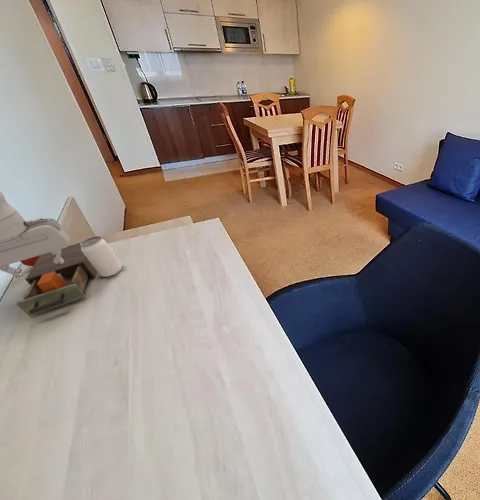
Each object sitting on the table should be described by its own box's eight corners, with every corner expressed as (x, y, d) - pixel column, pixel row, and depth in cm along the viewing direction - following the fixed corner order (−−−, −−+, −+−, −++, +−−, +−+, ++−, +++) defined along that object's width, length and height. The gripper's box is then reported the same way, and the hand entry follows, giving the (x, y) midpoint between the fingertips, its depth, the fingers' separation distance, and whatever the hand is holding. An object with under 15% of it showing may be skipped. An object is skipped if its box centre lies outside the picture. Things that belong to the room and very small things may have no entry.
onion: (34, 263, 109) (17, 245, 104) (52, 259, 110) (37, 241, 105) (25, 273, 104) (7, 254, 100) (44, 268, 106) (27, 250, 101)
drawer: (82, 305, 85) (71, 293, 83) (23, 326, 81) (10, 313, 78) (93, 271, 99) (84, 259, 97) (43, 286, 95) (33, 275, 92)
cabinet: (95, 277, 98) (82, 261, 94) (40, 295, 93) (24, 279, 89) (102, 254, 109) (91, 239, 106) (53, 269, 105) (40, 254, 101)
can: (104, 268, 102) (82, 239, 95) (125, 263, 103) (105, 233, 96) (98, 280, 97) (74, 249, 90) (120, 274, 98) (99, 243, 91)
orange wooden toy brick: (51, 299, 87) (36, 284, 84) (57, 286, 92) (43, 271, 89) (63, 295, 88) (49, 280, 85) (69, 282, 93) (56, 267, 90)
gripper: (54, 210, 83) (85, 251, 91) (-42, 235, 76) (0, 277, 84) (48, 219, 78) (81, 261, 86) (-56, 247, 72) (-9, 289, 80)
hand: (41, 269), depth 85 cm, fingers open, 8 cm apart
